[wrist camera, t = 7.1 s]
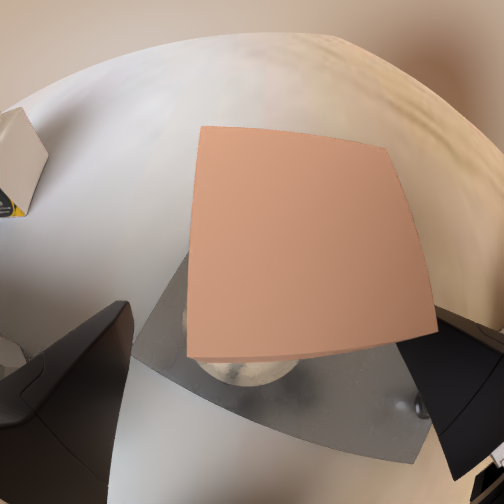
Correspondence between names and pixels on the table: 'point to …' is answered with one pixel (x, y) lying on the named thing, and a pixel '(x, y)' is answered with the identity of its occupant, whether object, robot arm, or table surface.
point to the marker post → (300, 249)
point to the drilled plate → (296, 387)
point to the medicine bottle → (18, 163)
